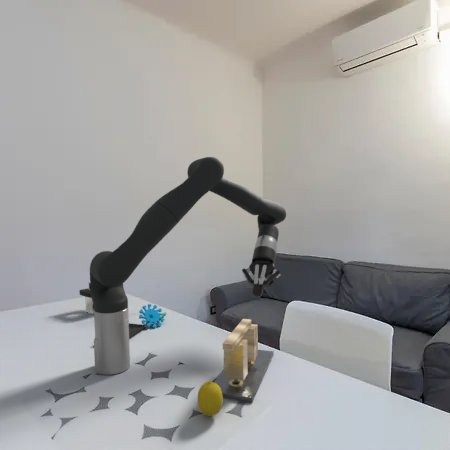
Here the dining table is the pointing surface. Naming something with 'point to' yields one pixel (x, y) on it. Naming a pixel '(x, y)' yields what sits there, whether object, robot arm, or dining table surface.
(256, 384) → the bolt plate
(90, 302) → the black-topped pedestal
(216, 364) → the dining table surface
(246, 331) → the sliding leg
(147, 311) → the blue knobbed spoke wheel
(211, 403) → the lemon
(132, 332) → the smart home device
